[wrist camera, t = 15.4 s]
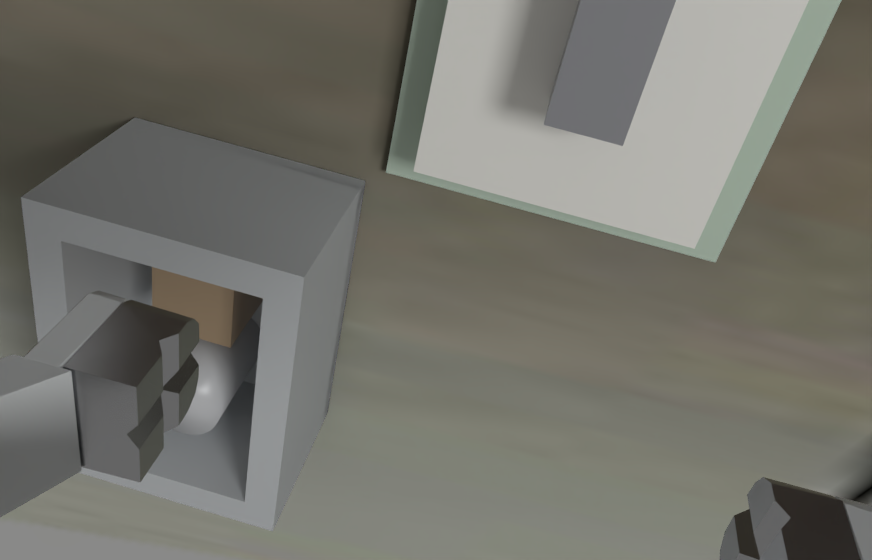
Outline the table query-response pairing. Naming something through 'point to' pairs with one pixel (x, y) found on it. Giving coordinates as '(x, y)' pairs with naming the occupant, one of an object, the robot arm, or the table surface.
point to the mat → (707, 248)
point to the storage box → (210, 295)
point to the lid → (602, 103)
